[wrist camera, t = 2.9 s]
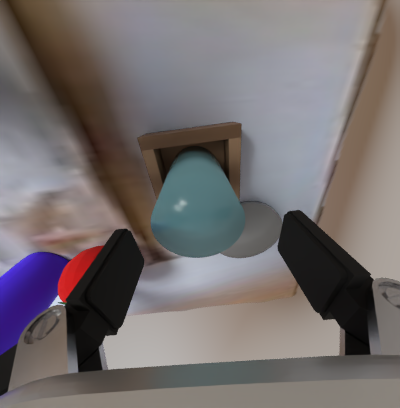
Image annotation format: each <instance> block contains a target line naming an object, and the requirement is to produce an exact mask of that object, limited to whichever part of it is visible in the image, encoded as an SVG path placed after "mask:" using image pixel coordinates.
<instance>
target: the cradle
mask: <svg viewBox="0 0 400 408" xmlns="http://www.w3.org/2000/svg"><path fill="white" fill-rule="evenodd" d="M137 139H138V142H139V145H140V148H141V152H142V155H143V158H144V161H145V164H146V167H147V170H148V173H149V177H150V180H151V183H152V186H153V189H154V192H155V195H156V199H157V200H158V197H159V195H160V192H161V190H162V187H163V185H164V182H165V180H166V177H167V175H168V172H169V169H170V167H171V164H172V162H173V160H174V158H175V156H176V155H177V154H178V153H179V152H180V151H181V150H182V149H184V148H187V147H190V146H201V147H204V148H206V149H208V150H209V151H211V152H212V153H213V154H214V155H215V157H216V159H217V160H218V162H219V164H220V166H221V168H222V170H223V172H224V173H225V175H226V177H227V179H228V181H229V183H230V185H231V187H232V189H233V190H234V192H235V194H236V196H237V198H238V200H239V196H240V159H241V123H236V122H228V123H221V124H214V125H207V126H199V127H192V128H185V129H178V130H170V131H163V132H156V133H149V134H145V135H143V136H141V137H138V138H137Z"/></svg>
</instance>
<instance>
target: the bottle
mask: <svg viewBox="0 0 400 408" xmlns="http://www.w3.org/2000/svg"><path fill="white" fill-rule="evenodd" d="M68 262H69V261H67V260H66V259H65V258H63V257H61V256H59V255H56V254H53V253H47V252H37V253H33V254H30V255H28V256H27V257H25V258H24V259H22V260H21V261H20V262H19V263H17V264H16V265H15V266H14V267H12V268H11V269H10V270H9V271H7V272H6V273H5V274H4V275H3V276H1V277H0V355H2V354H3V353H4V352H6V351H7V350H9V349H10V348H12V347H13V346H14V345H16V344H17V343H18V340H19V338H20V335H21V334H22V332H23V331H24V329H25V328H26V327H27V325H28V324H29V323H30V322H31V321H32V320H33V319H34V318H35V317H36V316H37V315H39V314H40V313H42V312H43V311H44V310H46V309H48V308H49V306H50V305H51V304H52V302H53V301H54V300H55V298H56V297H57V295H58V282H59V279H60V277H61V274H62V272H63V270H64V268H65V266H66V265H67V264H68Z"/></svg>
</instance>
